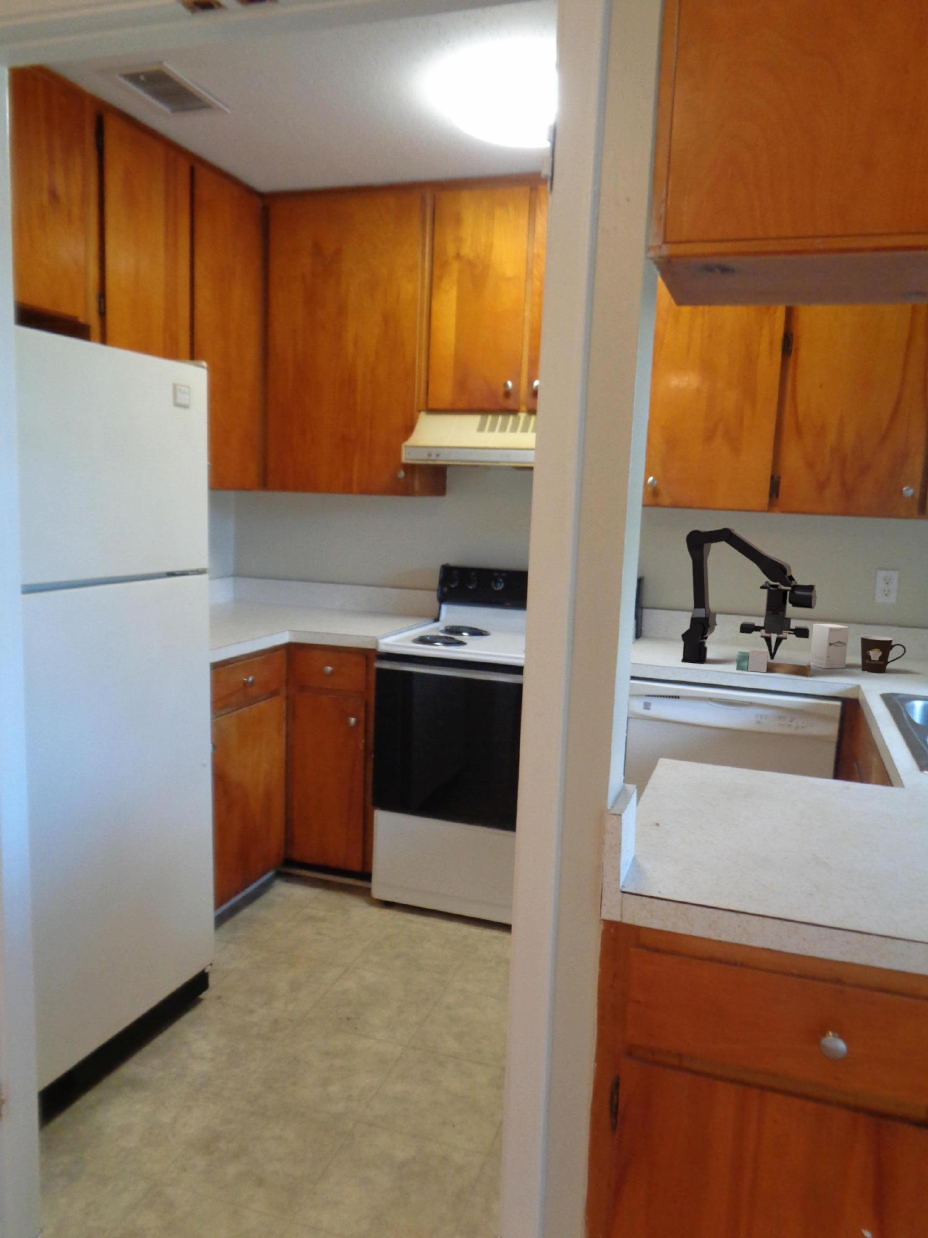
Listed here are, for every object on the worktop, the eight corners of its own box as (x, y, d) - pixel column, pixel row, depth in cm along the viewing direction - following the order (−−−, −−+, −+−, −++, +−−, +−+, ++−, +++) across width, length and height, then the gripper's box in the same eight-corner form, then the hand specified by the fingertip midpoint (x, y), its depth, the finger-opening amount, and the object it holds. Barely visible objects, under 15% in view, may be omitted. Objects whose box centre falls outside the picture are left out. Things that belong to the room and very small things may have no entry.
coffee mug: (852, 670, 266) (855, 636, 264) (866, 667, 271) (869, 634, 270) (891, 676, 257) (895, 642, 255) (905, 673, 262) (908, 640, 261)
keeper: (747, 670, 257) (749, 653, 257) (749, 666, 264) (750, 650, 263) (766, 672, 255) (767, 655, 255) (767, 668, 262) (768, 651, 261)
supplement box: (824, 668, 266) (828, 626, 264) (809, 664, 273) (812, 623, 272) (845, 668, 268) (849, 626, 266) (829, 664, 275) (833, 623, 274)
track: (736, 670, 258) (737, 654, 258) (737, 666, 265) (738, 651, 264) (810, 677, 251) (811, 661, 251) (810, 673, 258) (811, 657, 257)
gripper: (740, 606, 252) (736, 660, 254) (811, 611, 245) (806, 667, 247) (742, 602, 262) (738, 655, 264) (811, 607, 256) (806, 661, 258)
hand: (771, 659), depth 258 cm, fingers closed
